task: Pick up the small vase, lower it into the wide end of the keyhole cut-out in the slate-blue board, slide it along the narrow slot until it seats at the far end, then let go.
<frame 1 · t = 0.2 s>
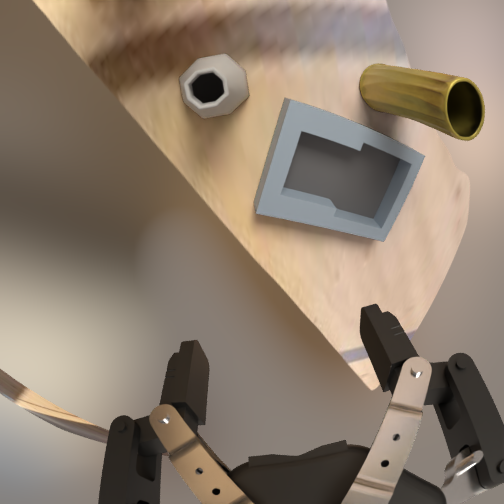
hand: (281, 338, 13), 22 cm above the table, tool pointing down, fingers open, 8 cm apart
flask: (214, 85, 24), on the table
vase: (380, 87, 25), on the table
keyhole board: (339, 171, 31), on the table
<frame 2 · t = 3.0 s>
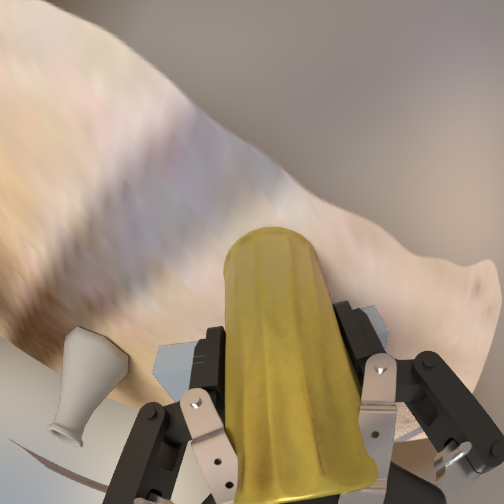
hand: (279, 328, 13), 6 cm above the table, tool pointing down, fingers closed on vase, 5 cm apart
flask: (97, 351, 22), on the table
vase: (270, 267, 18), on the table, touching gripper
keyhole board: (276, 376, 24), on the table
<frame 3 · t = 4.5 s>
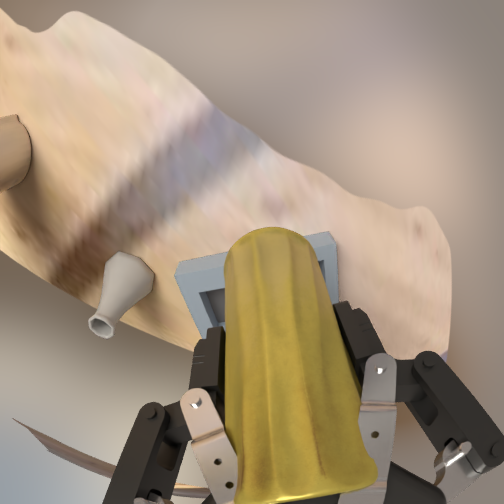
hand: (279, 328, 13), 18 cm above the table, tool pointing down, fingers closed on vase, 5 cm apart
flask: (129, 274, 33), on the table
vase: (270, 267, 18), point 13 cm above the table, touching gripper
keyhole board: (263, 291, 35), on the table
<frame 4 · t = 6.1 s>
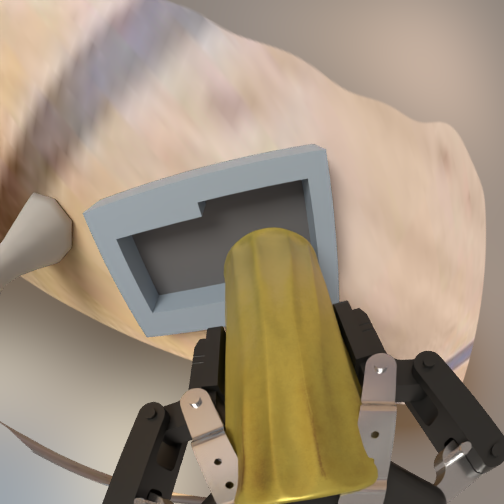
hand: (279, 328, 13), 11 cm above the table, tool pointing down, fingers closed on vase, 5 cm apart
flask: (48, 226, 21), on the table
vase: (270, 267, 18), point 5 cm above the table, touching gripper
keyhole board: (218, 243, 23), on the table
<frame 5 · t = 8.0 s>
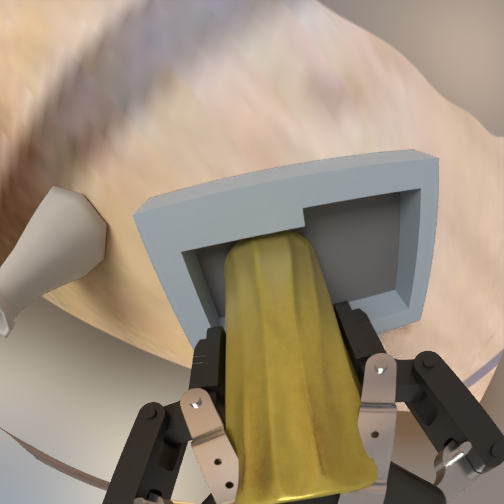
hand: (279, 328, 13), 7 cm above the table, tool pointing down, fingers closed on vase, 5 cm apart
flask: (71, 230, 18), on the table
vase: (270, 267, 18), point 1 cm above the table, touching gripper
keyhole board: (302, 257, 19), on the table
when the fingers open (6 cm above the table, at t = 9.5 s): vase stays where it is, resting on keyhole board.
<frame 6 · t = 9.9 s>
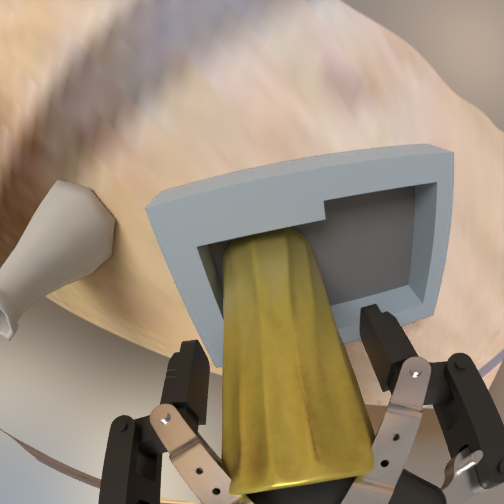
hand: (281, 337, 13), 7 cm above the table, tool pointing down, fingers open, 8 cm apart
flask: (76, 226, 17), on the table
vase: (268, 263, 18), resting on keyhole board
keyhole board: (318, 252, 18), on the table
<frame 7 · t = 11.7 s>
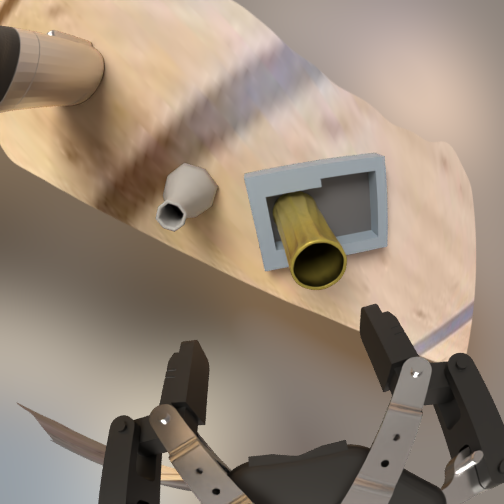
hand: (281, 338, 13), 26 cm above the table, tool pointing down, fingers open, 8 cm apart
flask: (190, 189, 35), on the table
vase: (294, 211, 37), resting on keyhole board
keyhole board: (319, 207, 36), on the table
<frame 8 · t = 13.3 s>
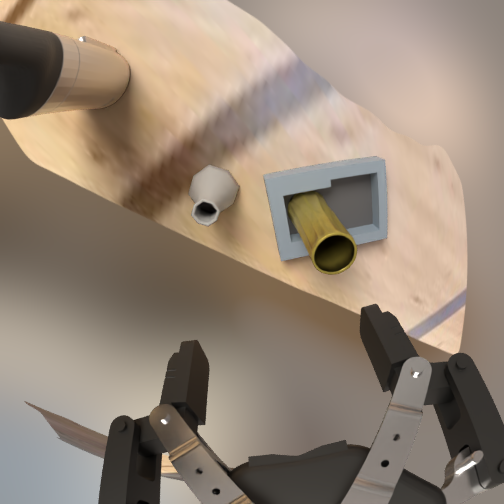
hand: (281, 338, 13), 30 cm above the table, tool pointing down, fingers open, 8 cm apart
flask: (213, 188, 40), on the table
vase: (306, 208, 41), resting on keyhole board
keyhole board: (328, 204, 41), on the table
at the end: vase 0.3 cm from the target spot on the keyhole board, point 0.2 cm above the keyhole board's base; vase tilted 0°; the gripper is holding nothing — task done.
